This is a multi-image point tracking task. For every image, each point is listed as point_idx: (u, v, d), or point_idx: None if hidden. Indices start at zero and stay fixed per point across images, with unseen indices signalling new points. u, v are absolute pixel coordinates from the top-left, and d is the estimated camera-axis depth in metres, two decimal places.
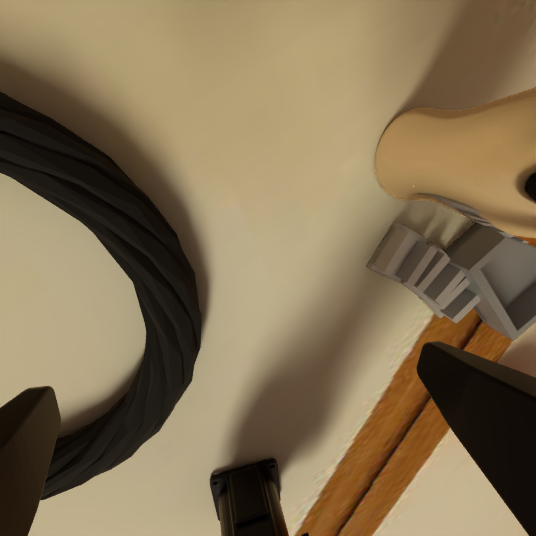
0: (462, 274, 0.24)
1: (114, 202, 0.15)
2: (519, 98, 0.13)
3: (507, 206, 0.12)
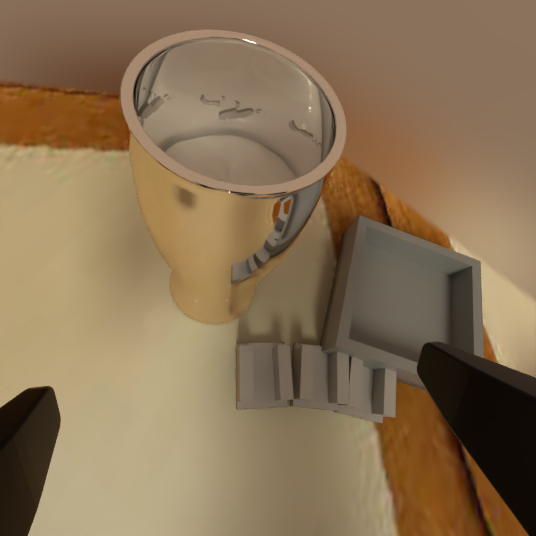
0: (343, 355, 0.20)
1: None
2: None
3: (170, 252, 0.12)
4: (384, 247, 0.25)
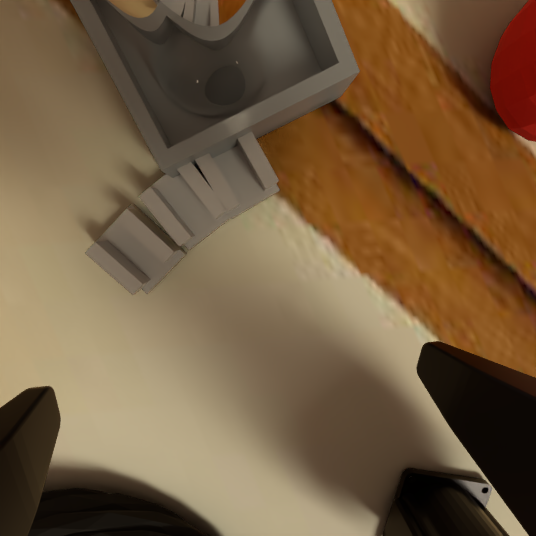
0: (186, 166, 0.16)
1: None
2: None
3: None
4: None
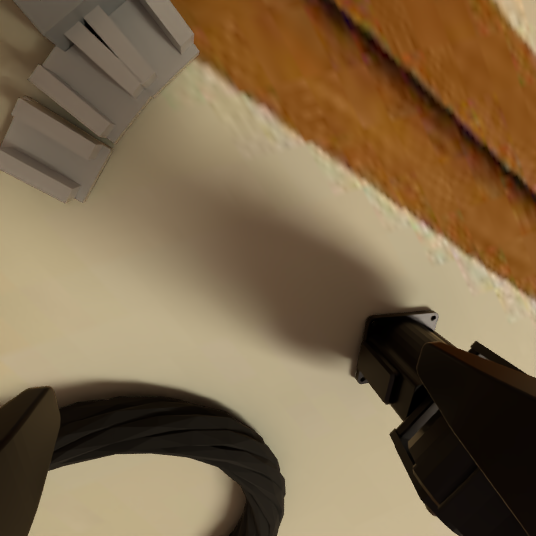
0: (75, 29, 0.13)
1: None
2: None
3: None
4: None
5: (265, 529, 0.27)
